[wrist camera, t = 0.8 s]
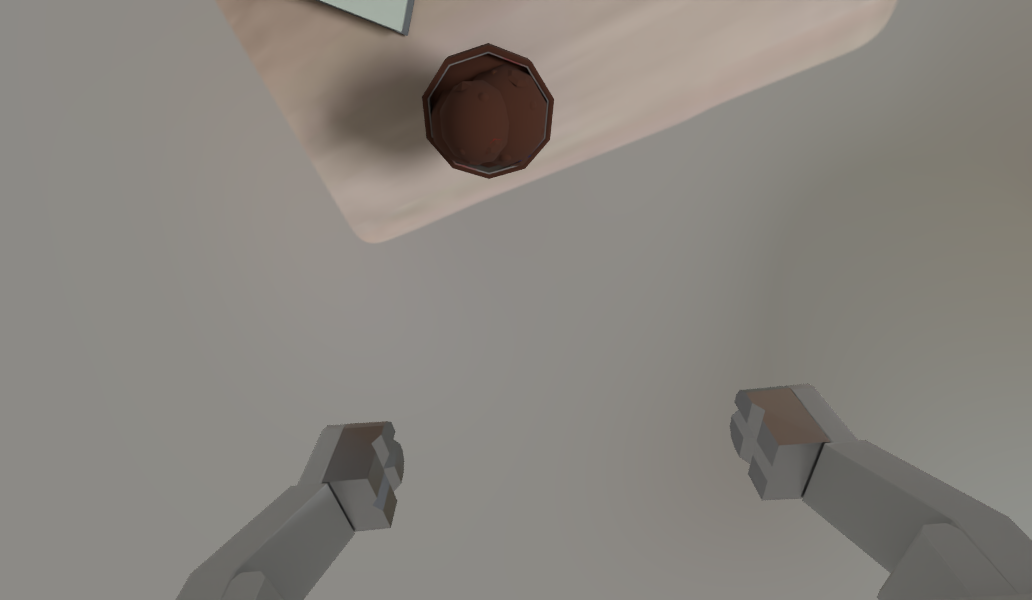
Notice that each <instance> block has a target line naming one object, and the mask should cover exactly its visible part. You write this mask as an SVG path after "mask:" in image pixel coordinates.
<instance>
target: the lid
mask: <svg viewBox="0 0 1032 600" xmlns="http://www.w3.org/2000/svg"><path fill="white" fill-rule="evenodd" d="M320 1H323V2H326V3H328V4H331V5H333V6H336V7H338V8H341V9H344V10H346V11H349V12H351V13H354V14H356V15H359V16H361V17H364V18H367V19H369V20H372V21H374V22H377V23H379V24H382V25H385V26H387V27H390V28H392V29H395V30H397V31H400V32H401V31H402V29H403V24H404V19H405V13H406V8H407V2H408V0H320Z"/></svg>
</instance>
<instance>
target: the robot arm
mask: <svg viewBox="0 0 1032 600" xmlns="http://www.w3.org/2000/svg"><path fill="white" fill-rule="evenodd" d="M735 404H736V406H737V407H738V409H739V410H738V411H737V412H735V414H733V415H732V417H731V423H730V431H731V438H732V441H733V444H734V447H735V449H736V451H737V453H738V455H739V457H740V458H742V459H743V460H745V461H746V462H748V463H749V464H750V468H749V472H748V475H749V477H750V478H751V480H752V482H753V484H754V486H755V488H756V490H757V492H758V494H759V495H760V497H761V499H762V500H779V499H799V498H803V500H802V501H804V502H805V503H806V504H807V505H808V506H810V507H811V508H812V509H813V510H814V511H816V512H817V513H818V514H819V515H820V516H822V517H823V518H824V519H825V520H827V521H828V522H829V523H830V524H831V525H833V526H834V527H835V528H836V529H838V530H839V531H840V532H841V533H842V534H844V535H845V536H846V537H847V538H848V539H850V540H851V541H852V542H853V543H855V544H856V545H857V546H858V547H859V548H861V549H862V550H863V551H864V552H865V553H867V554H868V555H869V556H870V557H872V558H873V559H874V560H875V561H876V562H878V563H879V564H880V565H882V567H884V568H885V569H886V570H887V571H889V572H890V573H891V574H890V576H889V577H888V579H887V580H886V582H885V583H884V585H883V586H882V588H881V589H880V591H879V593H878V596H877V598H878V599H879V600H1032V540H1031V539H1030V538H1029V537H1028V536H1027V535H1026V534H1025V533H1024V532H1023V531H1022V530H1021V529H1020V528H1019V527H1018V526H1017V525H1016V524H1015V523H1014V522H1013V521H1012V520H1011V519H1010V518H1009V517H1007V516H1006V515H1004V514H1002V513H1000V512H998V511H996V510H994V509H993V508H991V507H989V506H987V505H985V504H983V503H982V502H980V501H978V500H976V499H974V498H972V497H970V496H969V495H966V494H965V493H963V492H961V491H959V490H957V489H955V488H954V487H952V486H950V485H948V484H946V483H944V482H943V481H941V480H939V479H937V478H935V477H933V476H931V475H930V474H928V473H926V472H924V471H922V470H920V469H918V468H916V467H915V466H913V465H911V464H909V463H907V462H905V461H903V460H902V459H900V458H898V457H896V456H894V455H893V454H891V453H889V452H887V451H885V450H883V449H881V448H879V447H878V446H876V445H874V444H872V443H870V442H868V441H866V440H858V439H857V438H856V437H855V436H854V435H853V433H852V432H851V431H850V430H849V429H848V427H847V426H846V425H845V424H844V422H843V421H842V420H841V419H840V418H839V416H838V415H837V414H836V413H835V412H834V410H833V409H832V408H831V407H830V406H829V404H828V403H827V402H826V401H825V400H824V398H823V397H822V396H821V395H820V393H819V392H818V391H817V390H816V389H815V387H813V386H812V385H810V384H799V385H790V386H777V387H767V388H757V389H746V390H740V391H739V392H738V393H737V394H736V399H735ZM394 435H395V430H394V427H393V425H392V423H391V422H388V421H386V422H369V423H353V424H344V425H328V426H327V427H326V428H324V429H323V431H322V432H321V434H320V437H319V439H318V441H317V443H316V445H315V447H314V450H313V452H312V454H311V456H310V458H309V461H308V463H307V465H306V467H305V469H304V472H303V474H302V476H301V478H300V480H299V482H298V485H297V486H291V487H289V488H288V489H287V490H286V491H285V492H284V493H282V494H281V495H280V496H279V497H278V498H277V499H276V500H274V501H273V502H272V503H271V504H270V505H269V506H268V507H266V508H265V509H264V510H263V511H262V512H261V513H260V514H258V515H257V516H256V517H255V518H254V519H253V520H252V521H250V522H249V523H248V524H247V525H246V526H245V527H244V528H242V529H241V530H240V531H239V532H238V533H237V534H236V535H234V536H233V537H232V538H231V539H230V540H229V541H228V542H227V543H225V544H224V545H223V546H222V547H221V548H220V549H219V550H218V551H216V552H215V553H214V554H213V555H212V556H211V557H209V558H208V559H207V560H206V561H205V562H204V563H202V564H201V565H200V566H199V567H198V568H197V569H196V570H194V571H193V572H192V573H191V574H190V576H189V577H188V579H187V581H186V583H185V585H184V586H183V588H182V590H181V591H180V593H179V595H178V596H177V598H176V600H304V598H305V597H306V595H308V593H309V592H310V591H311V589H312V588H313V587H314V586H315V584H316V583H317V582H318V580H319V579H320V578H321V577H322V575H323V574H324V573H325V571H326V570H327V569H328V568H329V566H330V565H331V564H332V562H333V561H334V560H335V559H336V557H337V556H338V555H339V553H340V552H341V551H342V550H343V548H344V547H345V546H346V545H347V543H348V542H349V541H350V539H351V538H352V537H353V536H354V534H355V533H354V532H355V531H365V530H375V529H384V528H391V525H392V520H393V516H394V512H395V508H396V504H397V499H396V497H395V495H394V491H395V489H396V488H397V487H398V486H399V485H400V484H401V482H402V478H403V473H404V456H403V450H402V448H401V445H400V444H399V443H398V442H396V441H395V440H394V439H393V438H394Z"/></svg>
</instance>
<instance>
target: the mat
mask: <svg viewBox="0 0 1032 600" xmlns="http://www.w3.org/2000/svg"><path fill="white" fill-rule="evenodd" d="M316 1H319V2H321V3H324V4H326V5H329V6H331V7H334V8H337V9H339V10H342V11H344V12H347V13H349V14H352V15H355V16H357V17H360V18H362V19H365V20H367V21H370V22H373V23H375V24H378V25H380V26H383V27H385V28H388V29H391V30H393V31H396V32H398V33H401V34H403V35H406V36H408V31H409V26H410V21H411V15H412V10H413V5H414V0H408V2H407V8H406V13H405V19H404V24H403V29H402V31H401V32H400V31H397V30H395V29H392V28H390V27H387V26H385V25H382V24H379V23H377V22H374V21H372V20H369V19H367V18H364V17H361V16H359V15H356V14H354V13H351V12H349V11H346V10H344V9H341V8H338V7H336V6H333V5H331V4H328V3H326V2H323V1H320V0H316Z"/></svg>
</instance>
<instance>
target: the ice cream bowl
mask: <svg viewBox="0 0 1032 600" xmlns="http://www.w3.org/2000/svg"><path fill="white" fill-rule="evenodd" d="M422 100H423V109H424V118H425V127H426V136H427V139H428V140H429V141H430V143H431V144H432V145H433V146H434V147H435V148H436V149H437V151H438V152H439V153H440V154H441V155H442V156H443V157H444V159H445V160H446V161H447V162H448V163H449V164H450V166H451V167H452V168H454V169H458V170H461V171H465V172H468V173H471V174H475V175H478V176H482V177H485V178H488V179H490V178H493V177H497V176H500V175H504V174H507V173H511V172H515V171H518V170H522V169H525V168H526V167H527V166H528V164H529V163H530V162H531V161H532V160H533V159H534V158H535V156H536V155H537V154H538V153H539V152H540V151H541V149H542V148H543V147H544V146H545V145H546V144H547V142H548V141H549V140H550V134H551V124H552V114H553V104H554V98H553V97H552V95H551V93H550V92H549V90H548V88H547V87H546V85H545V83H544V82H543V80H542V78H541V77H540V75H539V73H538V72H537V70H536V68H535V67H534V65H533V64H532V62H531V61H530V60H529V59H528V58H525V57H523V56H520V55H518V54H515V53H512V52H510V51H507V50H505V49H502V48H499V47H497V46H494V45H492V44H489V43H487V44H484V45H481V46H478V47H475V48H472V49H469V50H466V51H463V52H460V53H457V54H454V55H451V56H448V57H447V58H446V59H445V61H444V62H443V64H442V65H441V67H440V69H439V70H438V72H437V74H436V75H435V77H434V78H433V80H432V82H431V83H430V85H429V87H428V88H427V90H426V91H425V93H424V95H423V96H422Z"/></svg>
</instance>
